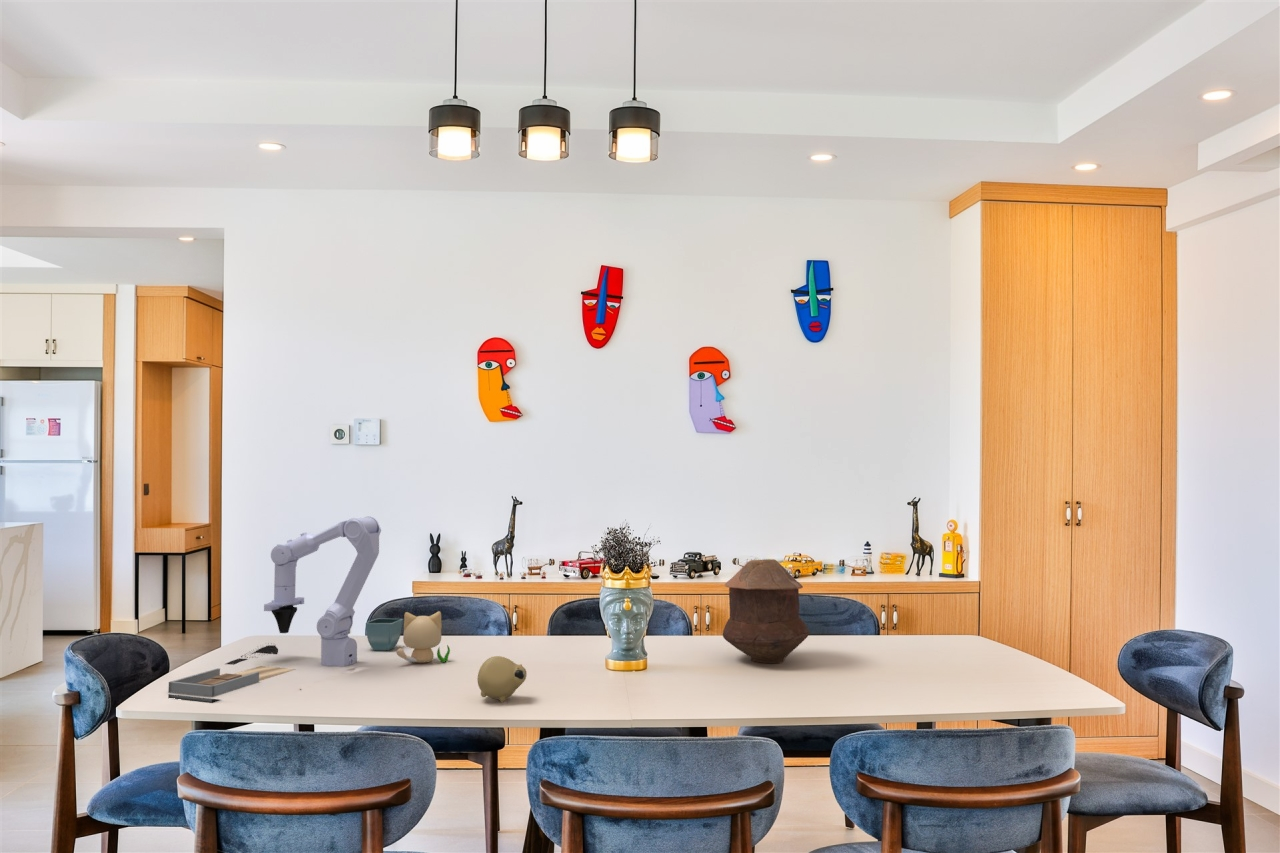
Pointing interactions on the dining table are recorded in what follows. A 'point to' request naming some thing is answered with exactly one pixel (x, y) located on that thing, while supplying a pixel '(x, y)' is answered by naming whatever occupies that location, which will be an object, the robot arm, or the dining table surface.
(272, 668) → the oak board
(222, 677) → the brown wooden block
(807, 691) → the dining table surface
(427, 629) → the kitten
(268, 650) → the hairbrush
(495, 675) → the toy pig
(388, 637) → the flower pot
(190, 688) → the tray
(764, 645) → the pottery vessel
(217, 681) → the tile
